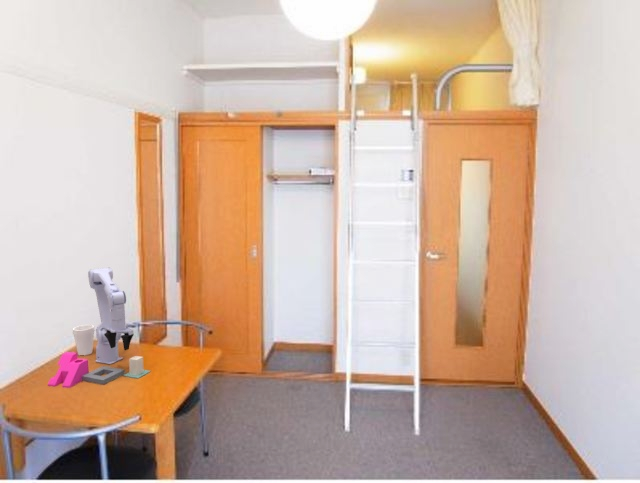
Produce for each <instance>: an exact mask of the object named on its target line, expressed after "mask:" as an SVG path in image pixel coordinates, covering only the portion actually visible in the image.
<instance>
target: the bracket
mask: <svg viewBox="0 0 640 483" xmlns="http://www.w3.org/2000/svg"><path fill="white" fill-rule="evenodd" d="M56 366H59V368H58V369H57V372H56V375H55V376H53V377H51V378H50V379H49V381H48V382H47V386H48V387H57V386H59V385H61V384H62V385H61V386H62V388H64V389H65V388H67V389H68V388H69V389H71V388H72V387H74V386H76V385H78V384H79V383H81V382H82V376H83V375H85V374H87V373H89V372H90V369H89V359H86V358H78V352H73V351H72V352H69V351H66V352H64V353H62V354H61V356H60V359H59V360H58V362H57V365H56Z"/></svg>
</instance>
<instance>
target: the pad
mask: <svg viewBox="0 0 640 483" xmlns="http://www.w3.org/2000/svg"><path fill="white" fill-rule="evenodd" d="M143 370H144V372H143V373H141V374H139V375H138V376H137V375H131V374H130V371H129V372H127V373H125V374H124V375H122V376H123V377H127V378H132V379H137V380H139V379H140V378H143V377H144V376H146V375H148V374H150V373H152V372H151V370H148V369H147V370H146V369H143Z"/></svg>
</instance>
